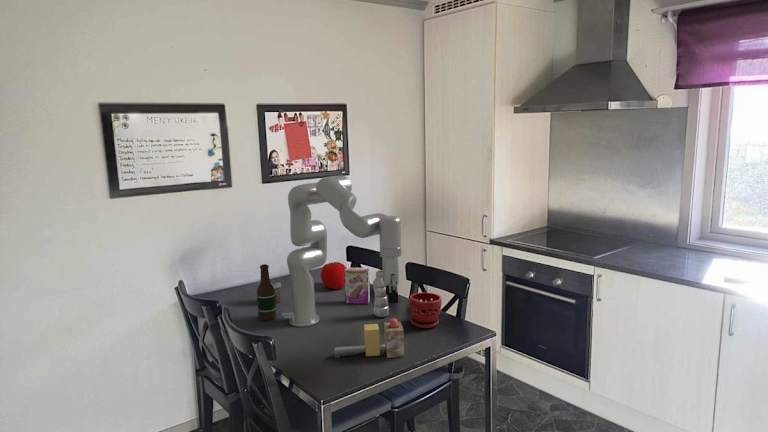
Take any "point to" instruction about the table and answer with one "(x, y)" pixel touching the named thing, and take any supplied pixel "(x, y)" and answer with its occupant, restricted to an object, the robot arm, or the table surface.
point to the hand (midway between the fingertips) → (391, 298)
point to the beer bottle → (266, 297)
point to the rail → (356, 349)
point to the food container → (277, 290)
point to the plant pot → (425, 309)
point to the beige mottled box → (394, 340)
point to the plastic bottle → (380, 296)
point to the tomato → (333, 275)
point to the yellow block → (372, 339)
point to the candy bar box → (357, 286)
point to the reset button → (393, 323)
